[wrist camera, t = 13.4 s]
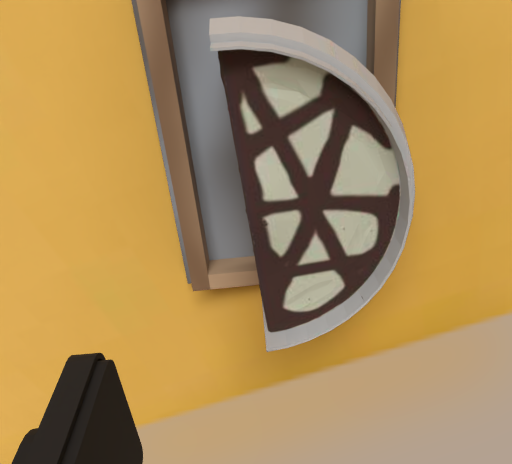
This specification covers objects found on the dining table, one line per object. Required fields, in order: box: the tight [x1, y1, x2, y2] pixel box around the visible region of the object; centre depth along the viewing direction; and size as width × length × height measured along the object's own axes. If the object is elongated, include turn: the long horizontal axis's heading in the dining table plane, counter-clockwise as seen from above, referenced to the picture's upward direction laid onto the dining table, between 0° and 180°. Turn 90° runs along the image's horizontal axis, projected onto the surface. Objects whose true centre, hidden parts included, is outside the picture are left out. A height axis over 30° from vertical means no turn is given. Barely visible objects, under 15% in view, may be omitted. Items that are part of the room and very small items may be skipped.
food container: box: [209, 16, 415, 352], centre depth 20 cm, size 12×6×10 cm, turn 8°
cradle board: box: [132, 0, 401, 291], centre depth 25 cm, size 12×18×2 cm, turn 5°
